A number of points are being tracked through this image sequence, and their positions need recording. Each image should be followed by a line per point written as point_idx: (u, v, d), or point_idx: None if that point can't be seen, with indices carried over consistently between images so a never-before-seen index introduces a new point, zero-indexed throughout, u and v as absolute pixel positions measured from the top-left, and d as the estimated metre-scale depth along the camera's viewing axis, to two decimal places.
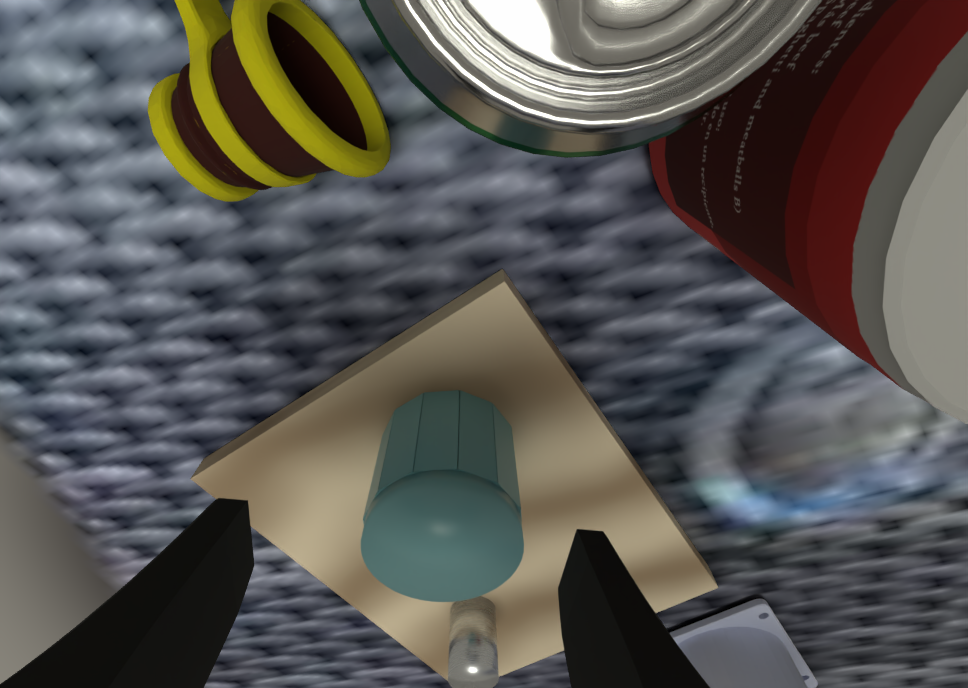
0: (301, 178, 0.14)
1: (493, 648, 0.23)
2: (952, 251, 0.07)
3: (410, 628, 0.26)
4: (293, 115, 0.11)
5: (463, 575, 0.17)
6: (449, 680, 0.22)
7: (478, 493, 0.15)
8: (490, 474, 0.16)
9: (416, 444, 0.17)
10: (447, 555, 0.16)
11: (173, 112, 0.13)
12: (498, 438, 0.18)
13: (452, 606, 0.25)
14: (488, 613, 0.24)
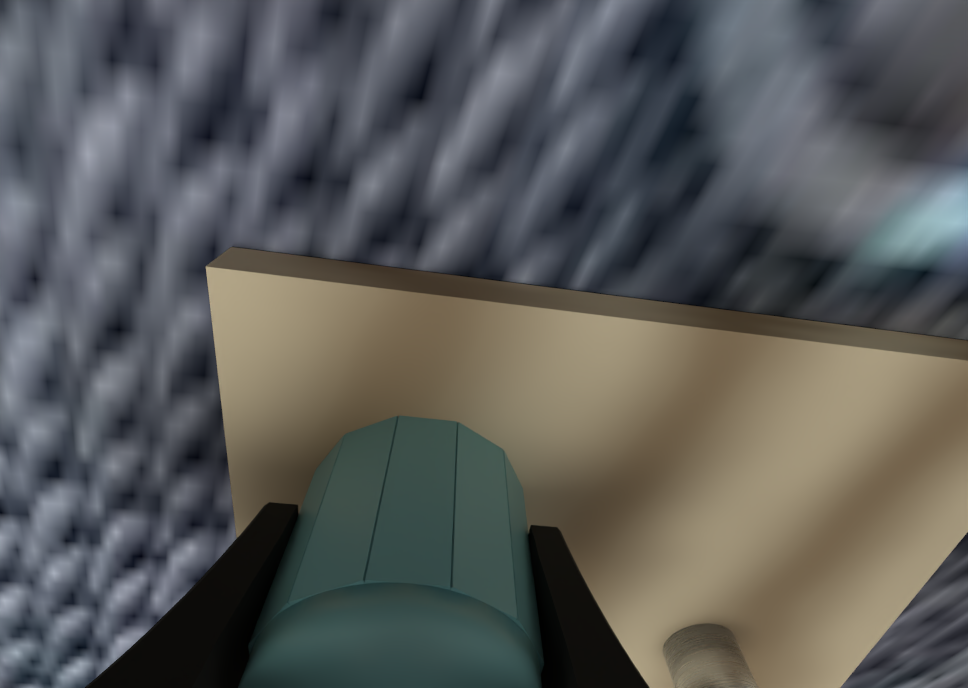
0: None
1: None
2: None
3: None
4: None
5: None
6: None
7: (312, 637, 0.07)
8: (352, 570, 0.08)
9: None
10: None
11: None
12: (400, 473, 0.10)
13: (665, 658, 0.16)
14: (712, 648, 0.15)
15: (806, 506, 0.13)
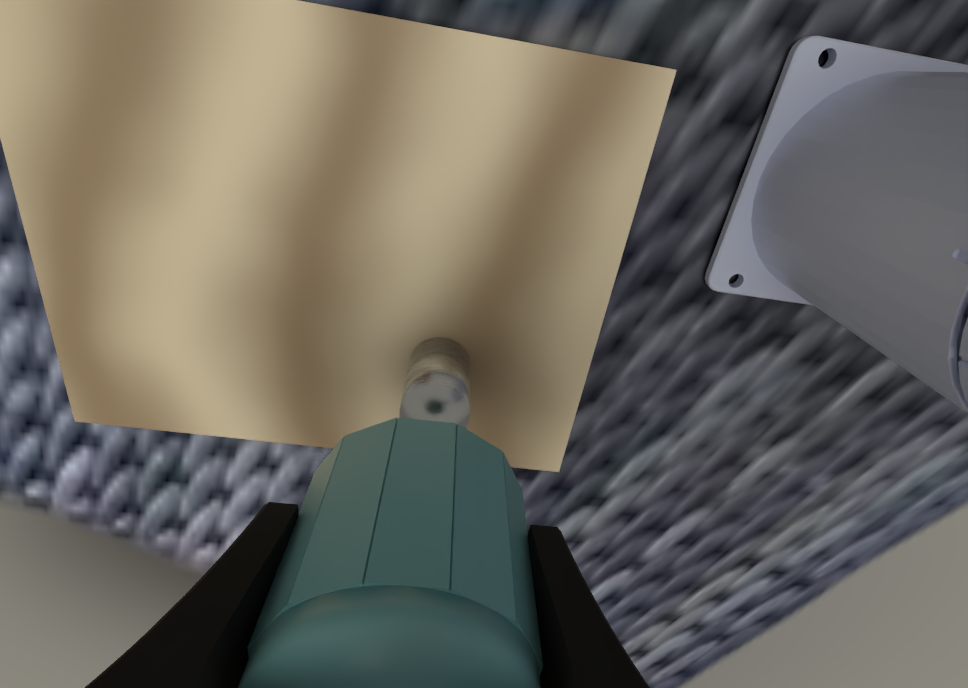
0: None
1: (439, 370, 0.17)
2: None
3: None
4: None
5: None
6: None
7: (311, 640, 0.07)
8: (351, 572, 0.08)
9: None
10: None
11: None
12: (399, 475, 0.10)
13: None
14: (435, 347, 0.18)
15: (486, 204, 0.16)
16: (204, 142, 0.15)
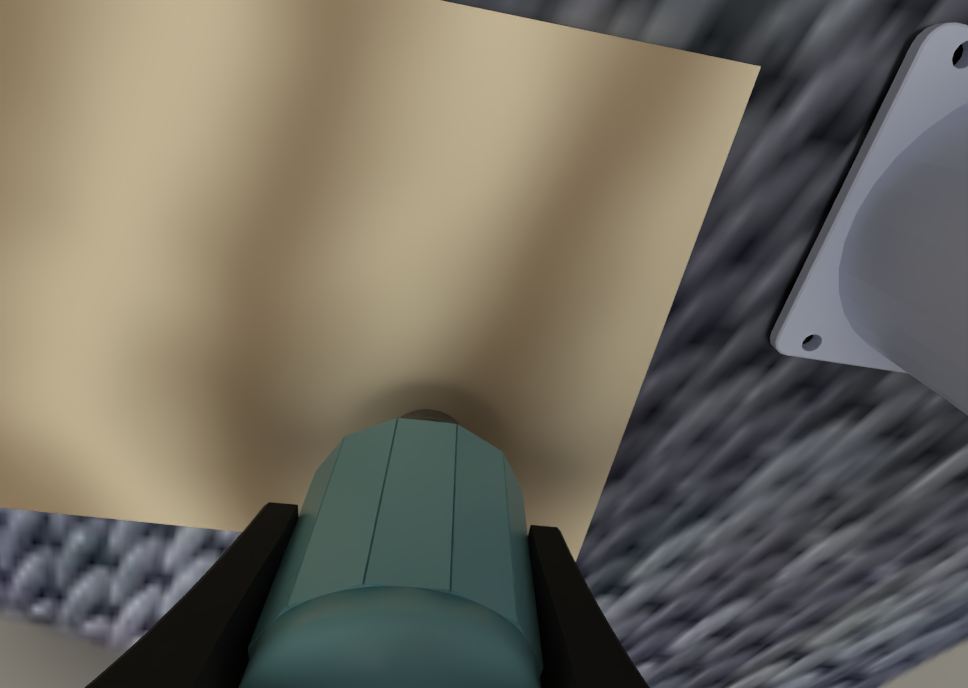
0: None
1: None
2: None
3: None
4: None
5: None
6: None
7: (311, 641, 0.07)
8: (352, 573, 0.08)
9: None
10: None
11: None
12: (399, 476, 0.10)
13: None
14: None
15: (490, 244, 0.12)
16: (101, 156, 0.11)
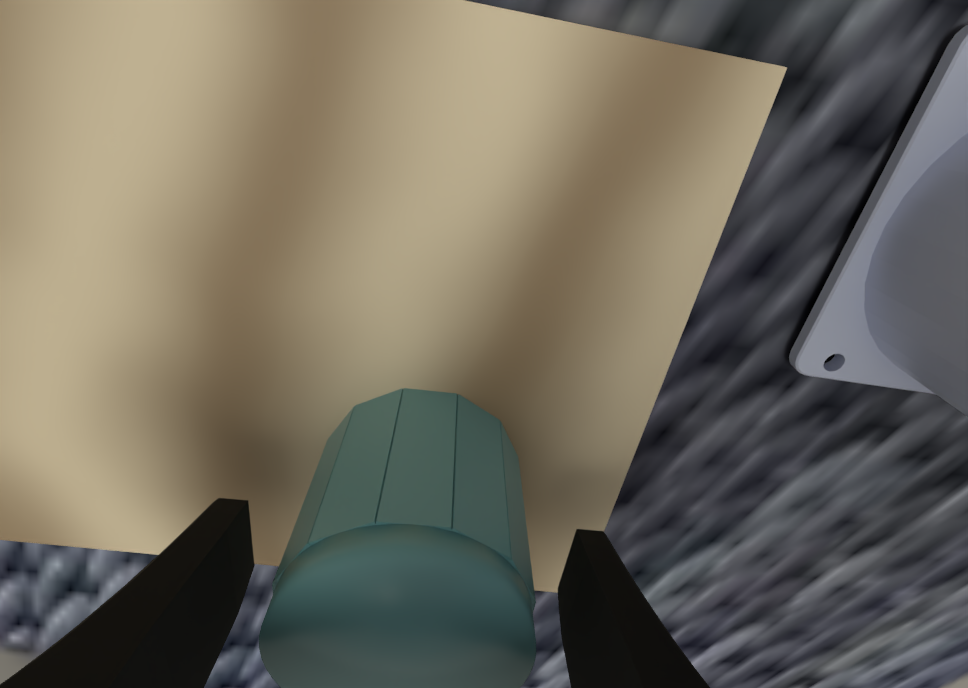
0: None
1: None
2: None
3: None
4: None
5: (470, 665, 0.10)
6: None
7: (331, 568, 0.08)
8: (365, 514, 0.09)
9: (294, 530, 0.11)
10: (416, 657, 0.10)
11: None
12: (405, 436, 0.11)
13: None
14: None
15: (490, 260, 0.11)
16: (65, 165, 0.10)
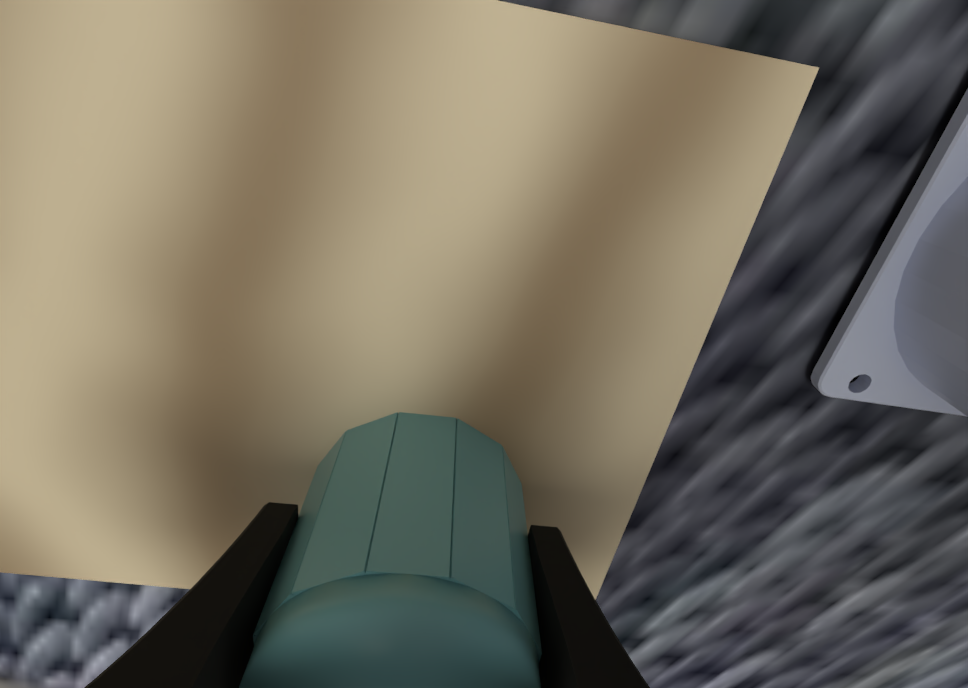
0: None
1: None
2: None
3: None
4: None
5: None
6: None
7: (315, 626, 0.08)
8: (354, 561, 0.08)
9: None
10: None
11: None
12: (400, 468, 0.10)
13: None
14: None
15: (492, 277, 0.10)
16: (26, 174, 0.09)
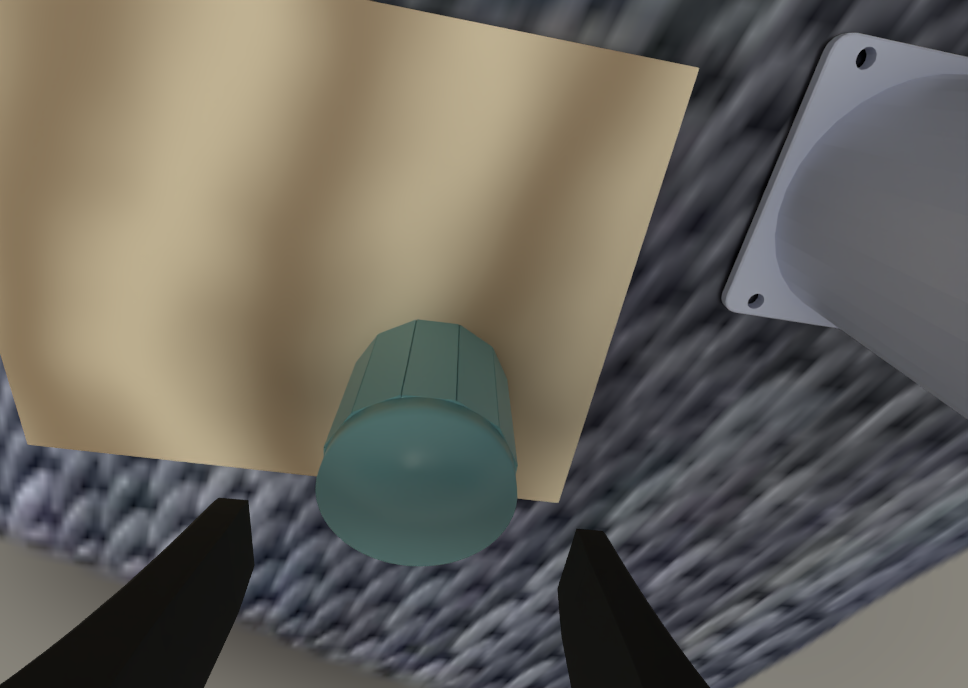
0: None
1: None
2: None
3: None
4: None
5: (469, 507, 0.13)
6: None
7: (371, 421, 0.12)
8: (393, 392, 0.13)
9: (336, 417, 0.14)
10: (429, 500, 0.13)
11: None
12: (420, 348, 0.15)
13: None
14: None
15: (483, 214, 0.15)
16: (166, 140, 0.14)
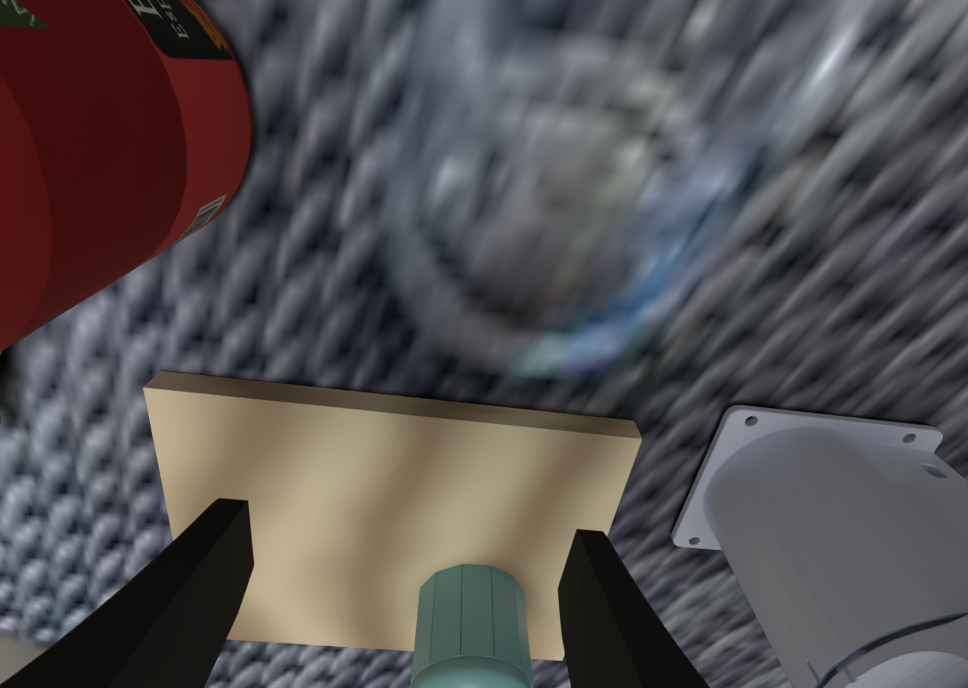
0: None
1: None
2: None
3: None
4: None
5: None
6: None
7: (444, 678, 0.20)
8: (454, 650, 0.20)
9: (414, 648, 0.22)
10: None
11: None
12: (467, 600, 0.22)
13: None
14: None
15: (506, 510, 0.22)
16: (305, 483, 0.21)
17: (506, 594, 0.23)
